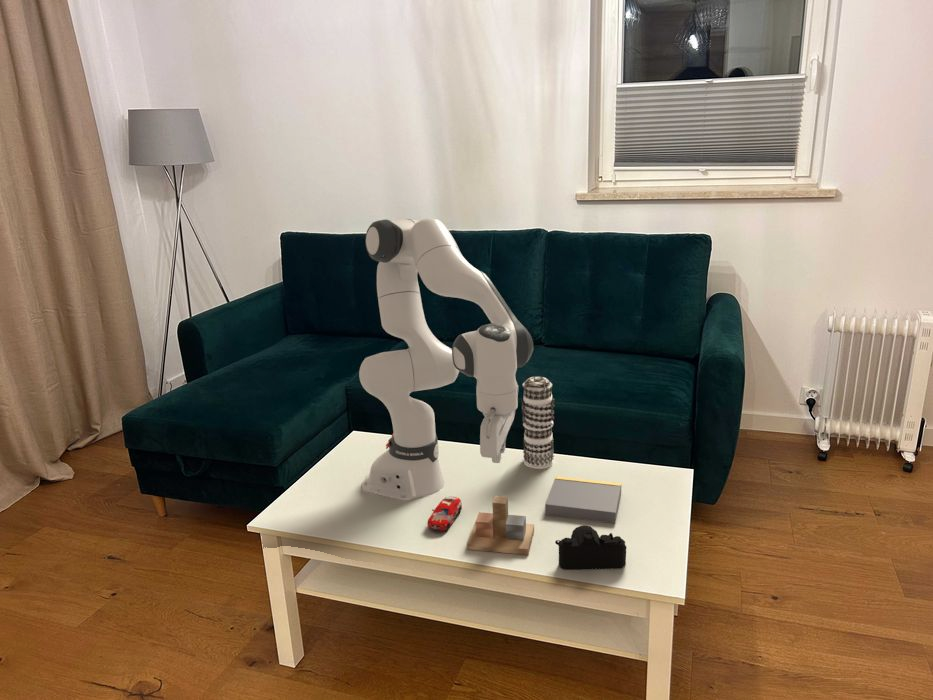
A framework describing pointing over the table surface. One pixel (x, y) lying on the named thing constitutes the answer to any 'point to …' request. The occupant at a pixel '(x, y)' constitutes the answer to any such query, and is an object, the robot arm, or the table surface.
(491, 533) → the terracotta crate
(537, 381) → the decorative candle
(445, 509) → the race car
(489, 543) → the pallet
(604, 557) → the film camera
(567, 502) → the plate
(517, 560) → the table surface
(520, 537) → the gray cube
